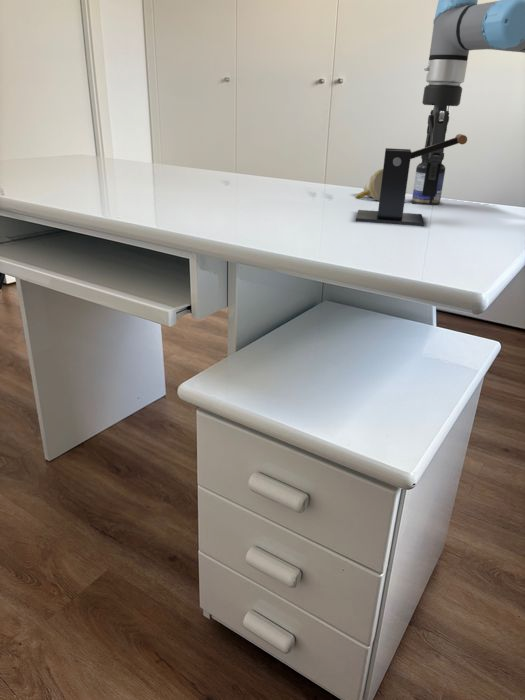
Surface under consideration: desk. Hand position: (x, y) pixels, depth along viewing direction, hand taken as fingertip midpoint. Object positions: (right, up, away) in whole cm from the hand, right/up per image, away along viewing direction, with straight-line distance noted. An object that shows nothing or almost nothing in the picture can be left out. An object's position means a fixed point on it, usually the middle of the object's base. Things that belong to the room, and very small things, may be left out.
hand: (426, 191), depth 119 cm
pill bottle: (0, -3, +1) cm, 3 cm away
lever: (-7, -1, -25) cm, 26 cm away
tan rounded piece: (-10, 0, +6) cm, 12 cm away
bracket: (-13, -11, -19) cm, 26 cm away
